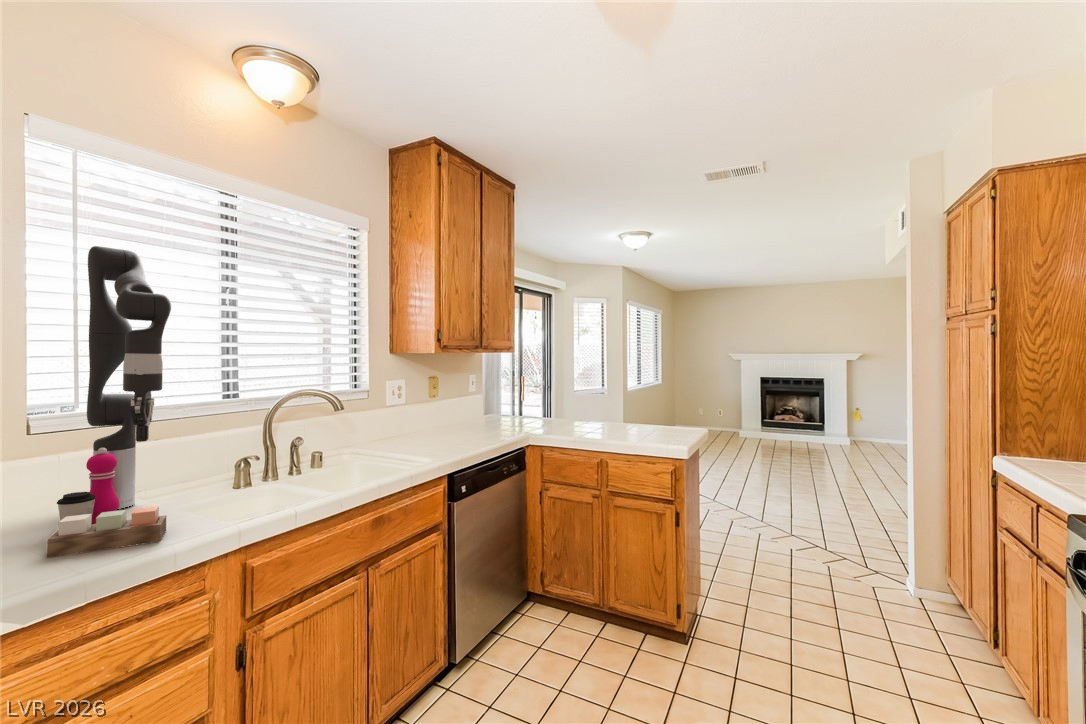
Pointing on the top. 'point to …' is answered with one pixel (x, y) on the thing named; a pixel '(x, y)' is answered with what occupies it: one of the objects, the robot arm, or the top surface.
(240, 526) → the top surface
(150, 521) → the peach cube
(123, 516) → the sage key
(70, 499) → the coffee cup
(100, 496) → the pepper mill
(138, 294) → the robot arm
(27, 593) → the top surface
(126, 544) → the wooden tray
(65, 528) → the ivory key
